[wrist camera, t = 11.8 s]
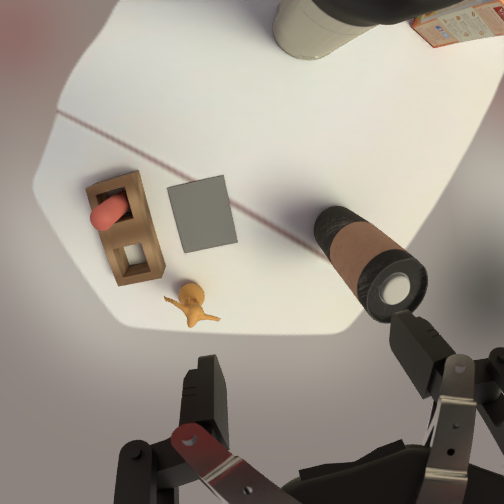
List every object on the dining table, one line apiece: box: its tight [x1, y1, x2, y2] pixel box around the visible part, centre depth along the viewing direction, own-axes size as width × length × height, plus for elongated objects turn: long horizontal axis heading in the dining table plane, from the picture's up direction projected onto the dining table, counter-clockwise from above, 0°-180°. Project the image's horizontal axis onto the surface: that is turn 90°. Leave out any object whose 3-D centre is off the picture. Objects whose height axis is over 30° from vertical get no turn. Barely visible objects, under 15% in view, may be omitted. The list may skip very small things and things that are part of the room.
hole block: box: [86, 170, 166, 286], centre depth 42 cm, size 15×7×4 cm, turn 10°
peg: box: [90, 190, 131, 231], centre depth 38 cm, size 3×3×10 cm
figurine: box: [164, 283, 220, 328], centre depth 43 cm, size 8×6×12 cm
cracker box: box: [411, 0, 504, 48], centre depth 24 cm, size 14×6×21 cm, turn 150°
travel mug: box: [314, 206, 428, 323], centre depth 38 cm, size 8×8×20 cm
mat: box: [168, 175, 238, 253], centre depth 44 cm, size 10×8×1 cm
